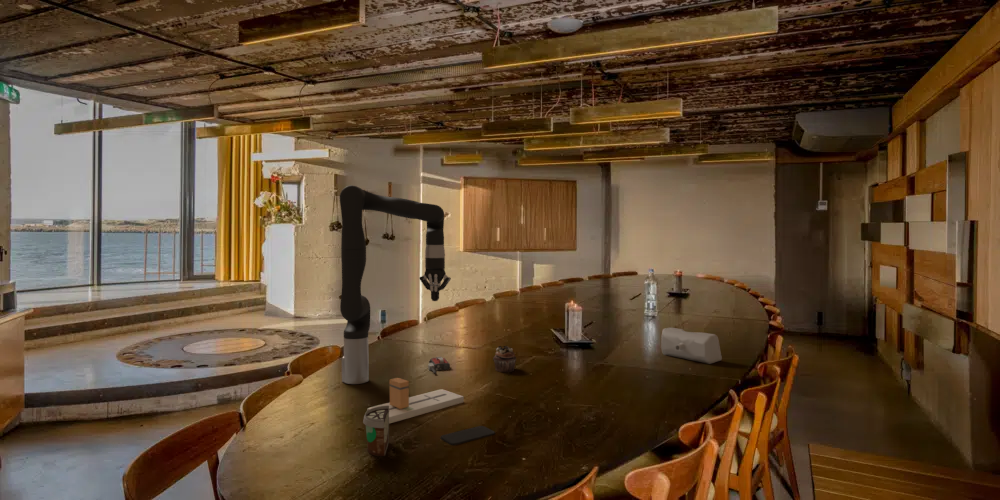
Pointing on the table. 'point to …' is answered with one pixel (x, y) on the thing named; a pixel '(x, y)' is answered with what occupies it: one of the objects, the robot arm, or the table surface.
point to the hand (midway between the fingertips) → (435, 300)
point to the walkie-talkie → (438, 364)
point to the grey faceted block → (691, 345)
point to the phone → (467, 435)
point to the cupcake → (504, 359)
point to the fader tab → (399, 393)
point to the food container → (377, 430)
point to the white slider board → (423, 404)
